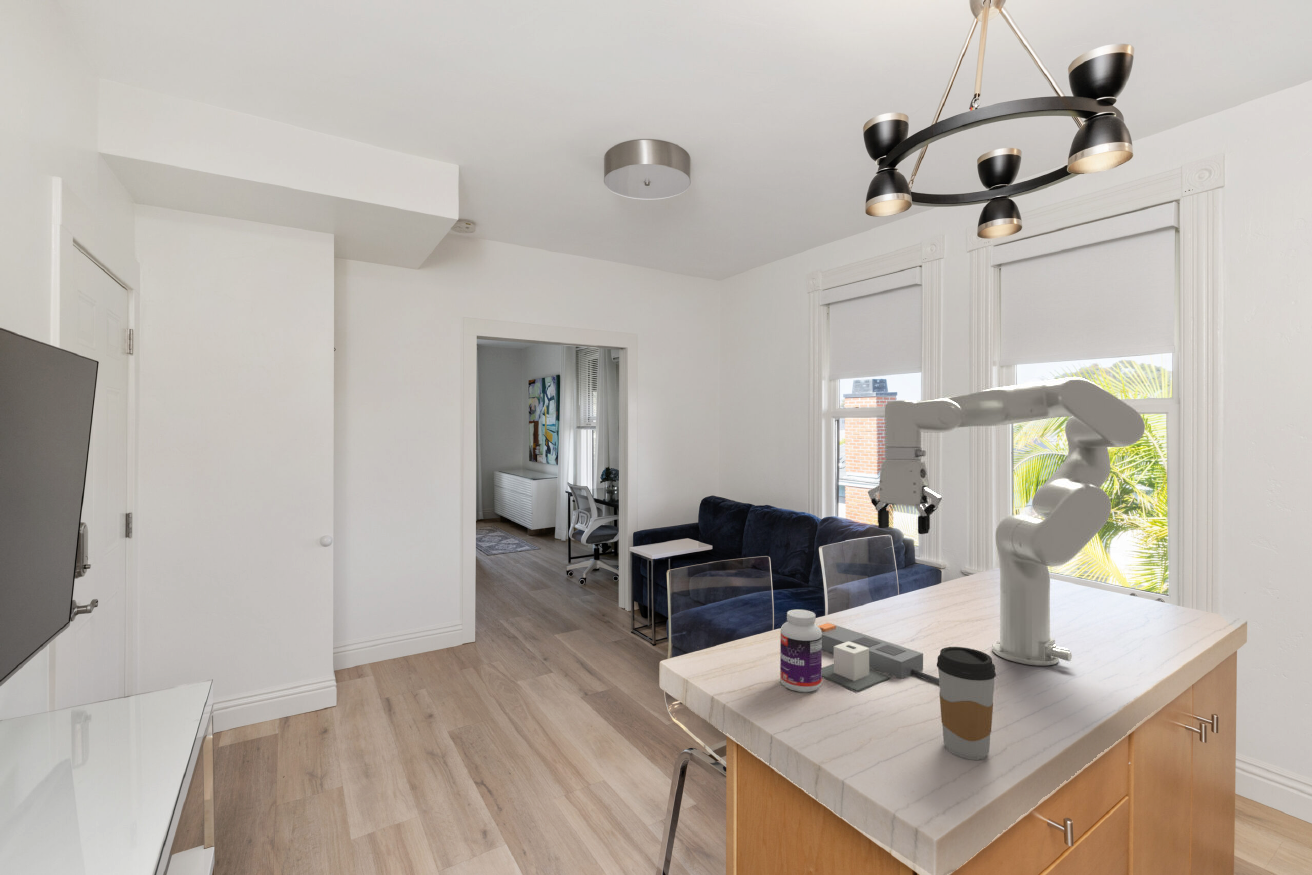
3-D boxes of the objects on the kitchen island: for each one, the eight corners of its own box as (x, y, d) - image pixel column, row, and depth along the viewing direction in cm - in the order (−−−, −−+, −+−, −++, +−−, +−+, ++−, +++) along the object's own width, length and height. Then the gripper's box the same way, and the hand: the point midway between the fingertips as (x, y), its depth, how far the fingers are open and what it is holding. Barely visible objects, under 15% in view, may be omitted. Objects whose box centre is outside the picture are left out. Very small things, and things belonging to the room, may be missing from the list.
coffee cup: (989, 740, 94) (989, 648, 94) (1002, 768, 86) (1002, 668, 86) (933, 732, 97) (933, 643, 97) (940, 758, 89) (940, 661, 89)
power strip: (981, 689, 113) (981, 668, 112) (960, 700, 108) (960, 678, 108) (830, 637, 142) (830, 620, 142) (808, 644, 137) (808, 626, 137)
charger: (869, 674, 119) (869, 647, 119) (854, 680, 116) (854, 652, 116) (848, 666, 123) (848, 640, 123) (833, 672, 120) (833, 645, 120)
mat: (890, 678, 118) (890, 676, 118) (857, 692, 112) (857, 690, 112) (845, 661, 127) (845, 659, 127) (812, 673, 121) (812, 671, 121)
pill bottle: (771, 683, 116) (771, 612, 116) (797, 673, 121) (797, 604, 121) (804, 698, 109) (804, 622, 109) (830, 686, 114) (830, 614, 114)
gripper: (949, 455, 125) (949, 534, 125) (878, 453, 139) (878, 524, 140) (930, 456, 121) (930, 537, 121) (859, 454, 135) (859, 527, 135)
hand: (903, 530), depth 130 cm, fingers open, 9 cm apart
